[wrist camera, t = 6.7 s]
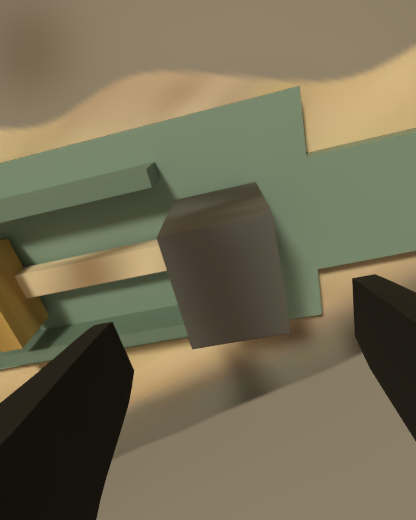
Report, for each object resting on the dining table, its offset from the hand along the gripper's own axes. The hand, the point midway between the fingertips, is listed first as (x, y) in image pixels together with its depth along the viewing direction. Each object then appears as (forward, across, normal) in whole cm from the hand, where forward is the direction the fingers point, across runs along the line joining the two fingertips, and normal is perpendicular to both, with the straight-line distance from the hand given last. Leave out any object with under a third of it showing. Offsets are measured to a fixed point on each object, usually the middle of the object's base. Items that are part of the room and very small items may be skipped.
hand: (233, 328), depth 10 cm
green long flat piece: (+9, +4, 0) cm, 10 cm away
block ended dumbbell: (+7, +5, 0) cm, 9 cm away
